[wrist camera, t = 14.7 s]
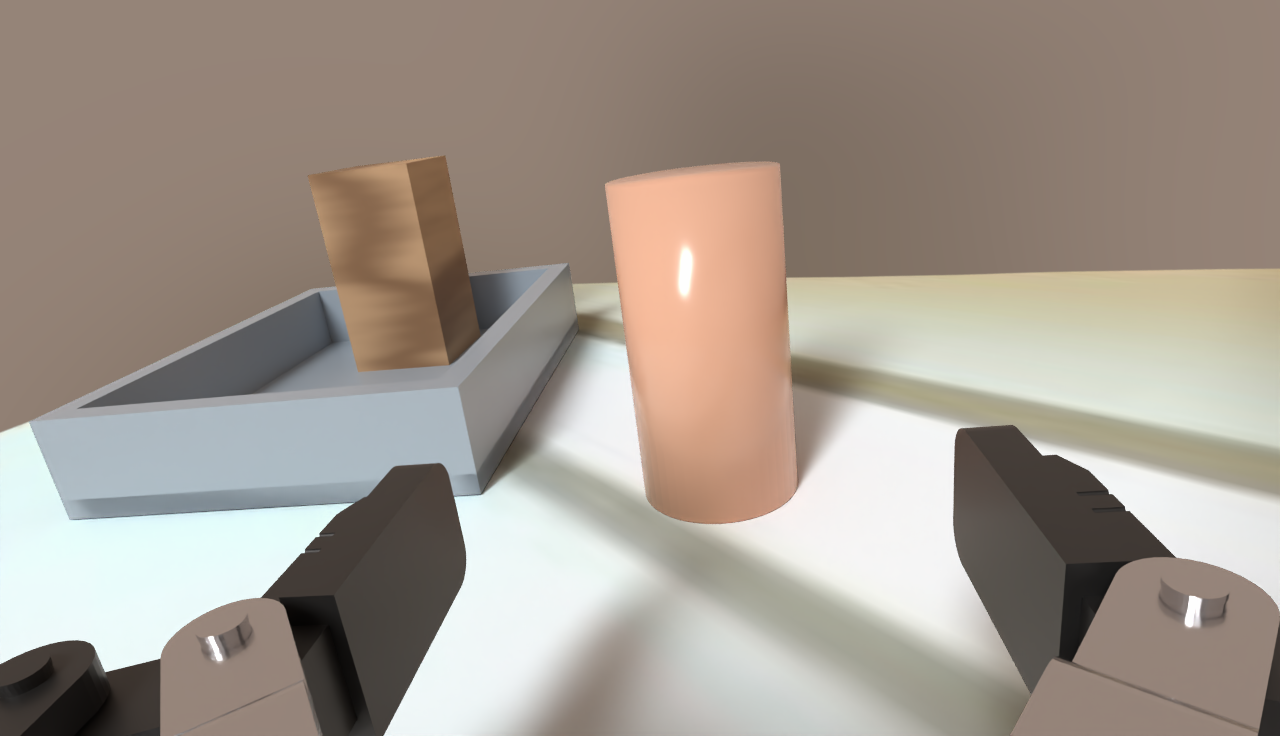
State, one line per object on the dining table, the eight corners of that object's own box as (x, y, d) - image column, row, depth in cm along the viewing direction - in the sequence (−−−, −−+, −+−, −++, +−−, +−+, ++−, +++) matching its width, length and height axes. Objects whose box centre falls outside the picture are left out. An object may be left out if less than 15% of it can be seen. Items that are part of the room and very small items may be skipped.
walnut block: (480, 335, 43) (445, 155, 40) (449, 365, 38) (406, 163, 35) (398, 342, 44) (357, 166, 40) (358, 372, 39) (307, 175, 36)
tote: (327, 351, 47) (311, 288, 46) (578, 328, 45) (568, 263, 44) (69, 519, 28) (29, 421, 27) (480, 494, 26) (458, 387, 25)
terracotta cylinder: (744, 437, 28) (722, 160, 25) (830, 490, 24) (816, 162, 20) (621, 476, 26) (580, 183, 23) (689, 542, 22) (650, 190, 18)
